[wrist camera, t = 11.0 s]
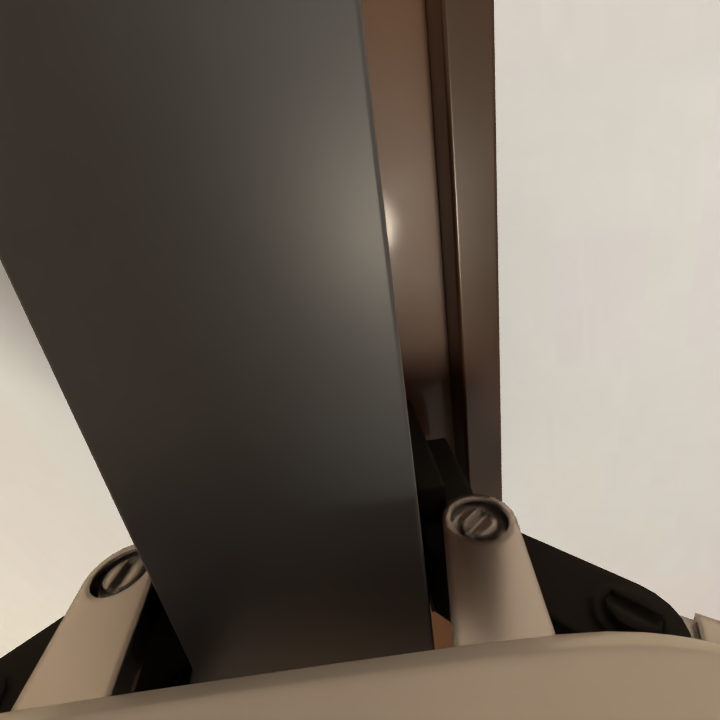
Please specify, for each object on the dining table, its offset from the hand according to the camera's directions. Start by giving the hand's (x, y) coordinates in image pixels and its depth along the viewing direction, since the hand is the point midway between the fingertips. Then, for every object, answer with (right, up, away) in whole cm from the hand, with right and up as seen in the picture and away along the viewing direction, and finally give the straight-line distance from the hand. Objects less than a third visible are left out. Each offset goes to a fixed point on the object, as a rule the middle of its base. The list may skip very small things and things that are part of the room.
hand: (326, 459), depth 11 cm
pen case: (0, 0, 0) cm, 0 cm away
